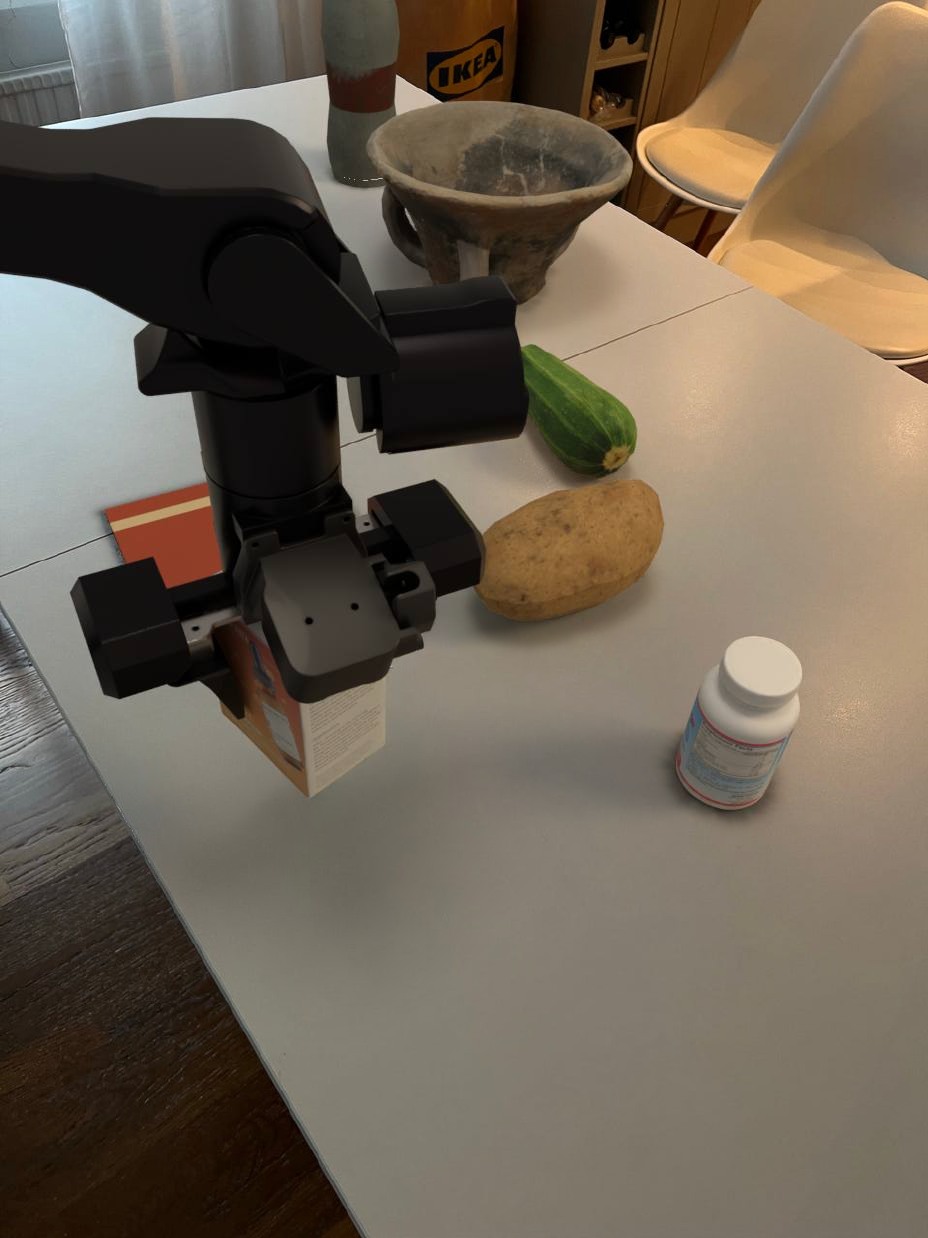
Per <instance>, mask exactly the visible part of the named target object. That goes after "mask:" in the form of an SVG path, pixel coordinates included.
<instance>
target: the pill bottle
mask: <svg viewBox="0 0 928 1238" xmlns="http://www.w3.org/2000/svg"><path fill="white" fill-rule="evenodd" d="M802 680H803V667H802V664H801V662H800V660H799V658H798V657H797V655H796V654H795V653H794V652H793V651H792V650H791V649H790V648H789V647H788V646H787V645H785V644H783V643H781V642H780V641H778V640H775V639H774V638H773V639H772V638H769V637H766V636H759V635H756V636H755V635H749V636H744V637H740V638H737V639H736V640H734V641H732V643H730V644H729V645H728V646H727V648H726V649H725V651H724V653H723V655H722V658H721V660H720V662H719V663H717V664H716V665H714V666H713V667H711V669H709V670H708V672H707V673H706V674H705V675H704V677H703V679H702V680H701V683H700V685H699V687H698V691H697V694H696V696H695V700H694V703H693V705H692V709H691V711H690V714H689V717H688V720H687V723H686V726H685V728H684V729H685V730H684V732H683V736H682V739H681V741H680V744H679V747H678V751H677V754H676V758H675V759H676V760H675V769H676V775H677V776H678V779H679V781H680V783H681V784H682V786H683V787H684V788H685V789H686V791H687V792H688V793H689V794H691V796H693V797H694V798H696V799H697V800H699V801H700V802H702V803H704V804H706V805H708V806H711V807H713V808H716V809H720V810H724V811H725V810H726V811H727V810H728V811H735V810H741V809H745V808H748V807H751V806H752V805H754V804H755V803H756V802H758V801H759V800H760V799H761V798H762V797H763V796H764V794H765V793H766V791H767V788H768V787H769V785H770V783H771V780H772V778H773V776H774V774H775V772H776V770H777V767H778V765H779V763H780V762H781V761H780V760H781V759H782V756H783V754H784V752H785V749H786V748H787V745H788V743H789V741H790V739H791V736H792V734H793V732H794V730H795V728H796V725H797V723H798V720H799V717H800V713H801V712H800V711H801V702H800V697H799V694H798V690H799V688H800V685H801V682H802Z"/></svg>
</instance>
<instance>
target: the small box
mask: <svg viewBox="0 0 928 1238" xmlns="http://www.w3.org/2000/svg"><path fill="white" fill-rule="evenodd" d="M219 573H223V572H222V570H221V571H219V572H217V573H216V574H219ZM216 574H214V575H216ZM213 631H214V633H215V635H216V637H217V640H218V642H219V644H220V646H221V649H222V651H223V653H224V655H225V658H226V660H227V662H228V664H229V666H230V669H231V670H230V671H231V673H232V676H233V678H234V681H235V683H236V686H237V688H238V690H239V693H240V695H241V698H242V700H243V703H244V709H245V718H243V719H240V720H238V719H237V718H236V717H235V716H234V715H233V714H232V713H231V712H230V710H229V709H228V708H227V707H226V706H225V705H224V704H223V703H222V702H221V700H220V699H219V698H218V700H219V705H220V711H221V714H223V716H224V717H225V718H227V720H229V722H230V723H232V724H233V725H235V727H236V728H238V730H240V732H242V733H243V735H245V736H246V737H247V739H249V741H251V743H253V744H254V746H255V747H257V748H258V750H259V751H260V752H261V753H262V754H263V755H264V756H265V757H266V758H267V759H268V760H269V761H270V762H271V763H272V764H273V765H274V766H275V767H276V768H277V769H278V770H279V771H280V772H281V773H282V775H284V777H286V778H287V779H288V780H289V782H290V783H292V785H294V786H295V788H297V789H298V791H300V792H301V794H302V795H303V796H304V797H305V798H307V799H311V798H312V797H314V796H315V795H317V794H318V793H319V792H321V791H322V790H324V789H325V788H326V787H328V786H329V785H331V784H332V783H334V782H335V781H337V780H338V779H340V778H341V777H342V776H343V775H345V774H347V773H348V772H349V771H351V770H352V769H353V768H354V767H356V766H358V765H359V764H360V763H362V762H364V760H366V759H367V758H369V757H370V756H371V755H373V754H374V753H375V752H377V751H378V750H380V749H381V748H383V747H384V746H385V745H386V738H387V732H386V731H387V729H386V728H387V675H386V676H385V677H384V678H382V679H381V680H379V681H377V682H374V683H371V684H364V685H361V686H358V687H355V688H352V689H349V690H346V691H343V692H340V693H338V694H335V695H332V696H329V697H327V698H326V699H324V700H322V701H319V702H315V703H311V704H304V703H300V702H297V701H295V700H294V699H292V698H291V697H290V696H289V695H288V694H287V692H286V690H285V688H284V685H283V683H282V679H281V676H280V673H279V670H278V668H277V665H276V663H275V660H274V658H273V655H272V653H271V650H270V648H269V645H268V643H267V640H266V638H265V635H264V633H263V630H262V625H261V621H260V622H256V623H253V624H250V625H246V624H245V622H244V620H243V619H242V620H239V621H235V622H232V623H229V624H226V625H222V626H219V627H216V628H215V629H214V630H213Z"/></svg>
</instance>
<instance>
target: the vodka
mask: <svg viewBox="0 0 928 1238" xmlns="http://www.w3.org/2000/svg"><path fill="white" fill-rule="evenodd" d="M398 14H399V13H398V7H397V2H396V0H322V6H321V22H320V36H321V41H322V49H323V55H324V63H325V72H326V73H325V74H326V80H327V90H328V96H329V97H328V98H329V102H328V103H329V104H328V115H327V126H326V127H327V129H326V147H327V148H326V149H327V153H328V160H329V164H330V167H331V170H332V173H333V177H334V178H335V179H336V180H337V181H338V182H339V183H342V184H343V185H346V186H350V187H355V188H363V189H368V188H377V187H381V186H385V183H386V182H385V181H384V179H378V178H382V177H381V176H380V175H379V174H378V173H377V171H376V170H375V168H374V167H373V165H372V163H371V162H370V160H369V158H368V157H367V155H366V145H367V143H368V140H369V138H370V136H371V134H372V133H373V132H374V131H375V130H376V129H377V128H379V127H380V126H381V125H383V124H385V123H386V122H387V121H388V120H390V119H391V118H393V117H395V116H397V115H398V114H397V110H396V103H395V100H396V88H397V87H396V85H397V72H398V71H397V69H398V55H399V45H400V44H399V43H400V35H401V34H400V33H401V32H400V25H399V15H398ZM344 177H345V178H344ZM349 178H350V179H349ZM354 179H355V180H354ZM371 179H378V180H371ZM363 180H368V181H363Z"/></svg>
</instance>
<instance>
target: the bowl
mask: <svg viewBox="0 0 928 1238" xmlns="http://www.w3.org/2000/svg"><path fill="white" fill-rule="evenodd" d="M396 115H397V116H395V117H393V118H391V119H390V120H388V121H387V122H386V123H385V124H383V125H381V126H380V127H379V128H377V129H376V130H375V131H374V132H373V133H372V134H371V136H370V138H369V140H368V143H367V145H366V155H367V157H368V158H369V160H370V162H371V163H372V165H373V167H374V168H375V170H376V171H377V173H378V174H379V175H380V176H381V177H382V178H383V179H384V181H385V182H386V183H385V185H384V188H383V193H382V195H381V199H380V200H381V214H382V215H381V216H382V219H383V222H384V225H385V227H386V230H387V233H388V235H389V237H390V240H391V241H392V244H393V245H394V247H396V248H397V250H399V252H400V253H401V254H402V255H403V256H404V257H405V258H406V259H407V260H408V261H409V262H410V263H412V264H414V265H416V266H418V267H420V268H421V269H424V270H426V271H427V274H428V277H429V279H430V282H431V284H432V286H434V285H445V284H452V283H457V282H460V281H463V280H466V279H469V278H473V277H481V276H492V275H500V276H501V277H502V278H503V279H504V281H505V283H506V284H507V286H508V288H509V289H510V291H511V293H512V294H513V296H514V297H515V299H516V301H517V306H520V305H523V304H525V303H526V302H528V301H530V300H531V299H532V298H533V297H535V296H536V295H538V294H539V292H541V290H542V289H543V288H544V287H545V285H546V284H547V282H546V275H547V272H548V270H549V268H550V267H551V266H553V264H554V263H555V262H556V261H557V260H558V259H559V258H560V257H561V256H562V255H563V254H564V253H565V252H566V251H567V249H568V248H569V247H570V245H571V244H572V243H573V241H574V239H575V237H576V235H577V233H578V231H579V228H580V226H581V223H583V222H584V221H585V220H587V219H589V217H590V216H592V215H593V214H594V213H596V211H599V209H601V208H602V207H603V206H605V205H606V204H608V202H610V201H611V200H612V199H613V198H614V197H616V195H617V194H618V193H619V192H620V191H622V190H623V189H624V188H625V187H626V186H627V185H628V184H629V182H630V180H631V177H632V174H633V167H634V163H633V159H632V157H631V155H630V154H629V151H628V150H627V149H626V148H625V147H624V146H623V145H622V144H621V143H620V141H619V140H618V139H617V138H616V137H615V136H613V135H612V134H611V133H609V132H608V131H607V130H605V129H604V128H603V127H600V126H599V125H597V124H594V123H592V122H590V121H588V120H585V119H584V118H581V117H578V116H575V115H573V114H571V113H567V112H564V111H560V110H557V109H550V108H546V107H540V106H535V105H530V104H525V103H520V102H509V101H500V100H499V101H496V100H460V101H459V100H457V101H445V102H439V103H435V104H431V105H428V106H424V107H421V108H416V109H412V110H408V111H406V112H403V113H400V114H396ZM406 212H407V213H408V215H409V216H410V219H411V220H410V219H409V216H408V215H407V213H406ZM411 221H412V223H413V225H412V223H411Z"/></svg>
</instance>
